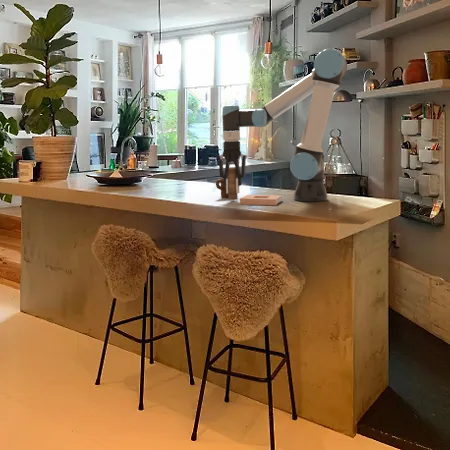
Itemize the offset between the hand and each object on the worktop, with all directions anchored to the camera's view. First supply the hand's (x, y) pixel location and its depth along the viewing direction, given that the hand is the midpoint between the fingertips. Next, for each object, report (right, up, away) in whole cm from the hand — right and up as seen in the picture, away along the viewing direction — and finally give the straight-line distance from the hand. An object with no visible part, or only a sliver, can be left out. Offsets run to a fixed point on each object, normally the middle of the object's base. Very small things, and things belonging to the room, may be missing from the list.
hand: (233, 192), depth 240 cm
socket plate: (+12, -5, -5) cm, 14 cm away
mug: (-3, -2, +15) cm, 16 cm away
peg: (0, -3, 0) cm, 3 cm away
